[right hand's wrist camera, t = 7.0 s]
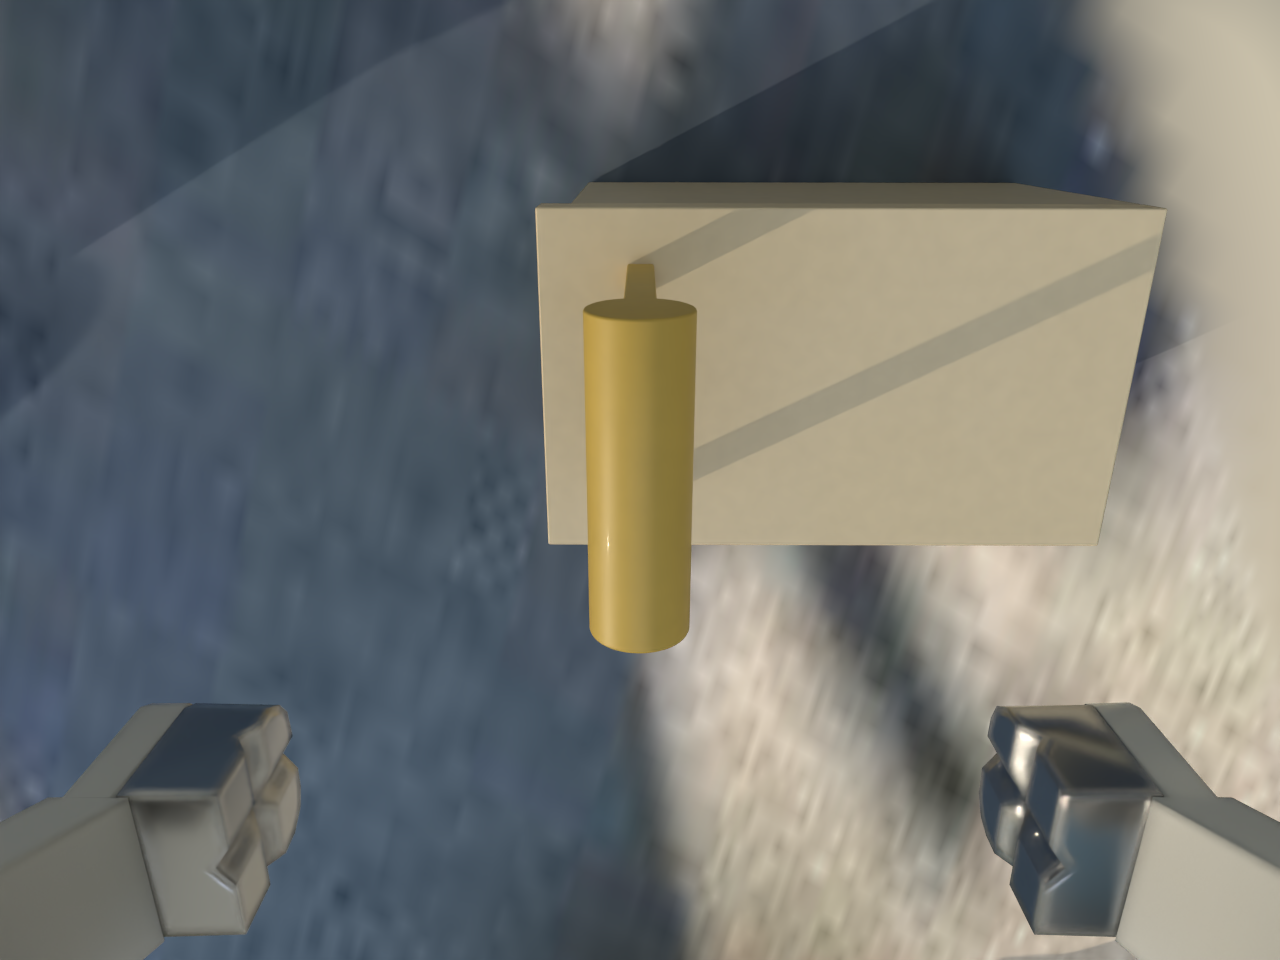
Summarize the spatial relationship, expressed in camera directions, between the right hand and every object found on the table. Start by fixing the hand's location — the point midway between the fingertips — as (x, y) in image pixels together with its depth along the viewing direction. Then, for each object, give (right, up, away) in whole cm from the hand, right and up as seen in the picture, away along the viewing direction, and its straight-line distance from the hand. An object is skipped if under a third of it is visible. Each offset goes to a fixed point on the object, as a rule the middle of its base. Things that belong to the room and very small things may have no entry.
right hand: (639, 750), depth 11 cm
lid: (+5, +6, +15) cm, 17 cm away
